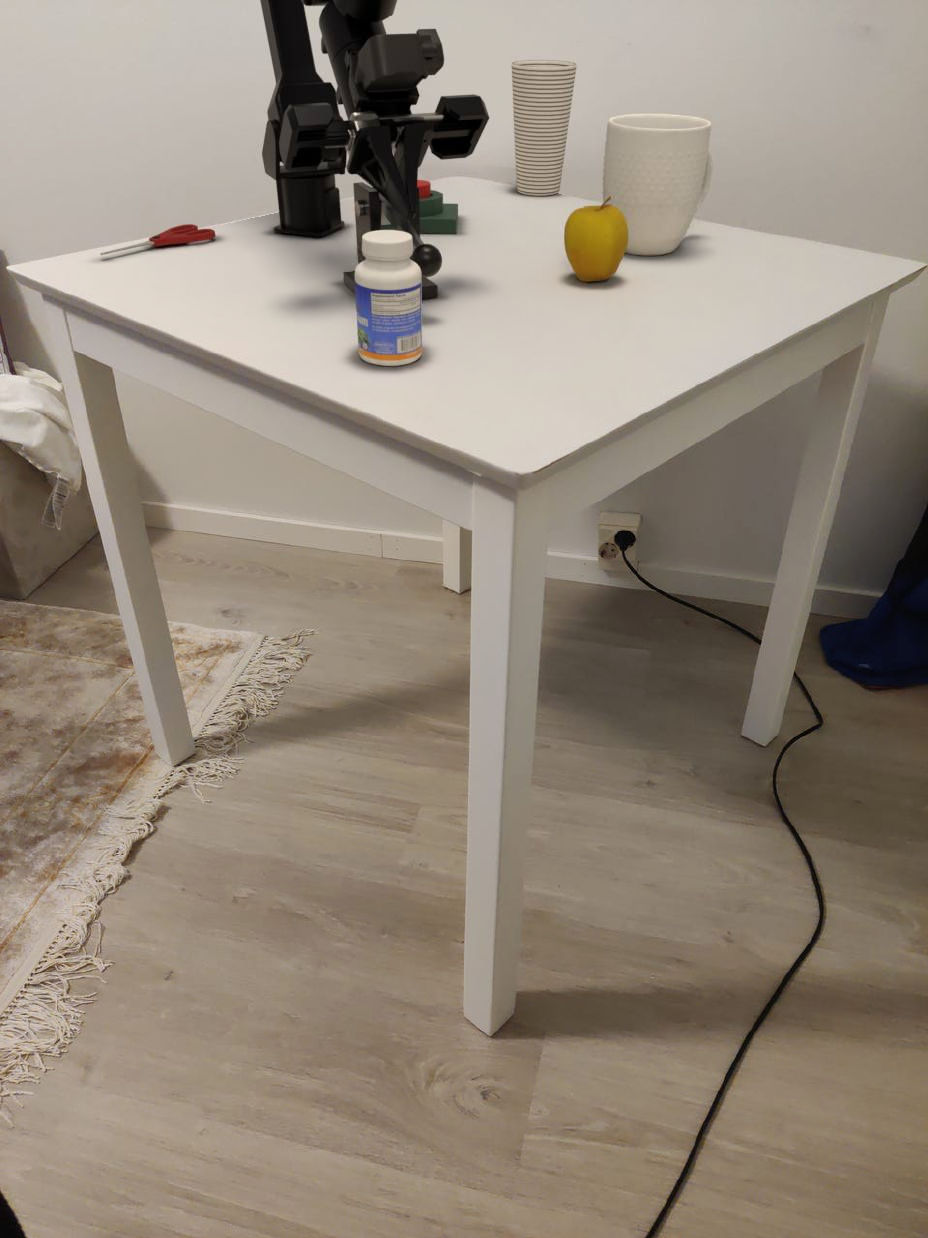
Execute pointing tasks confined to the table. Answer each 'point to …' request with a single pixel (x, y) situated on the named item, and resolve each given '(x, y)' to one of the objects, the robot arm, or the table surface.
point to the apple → (595, 241)
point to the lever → (422, 253)
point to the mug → (656, 176)
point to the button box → (435, 215)
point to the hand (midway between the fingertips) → (411, 216)
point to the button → (424, 188)
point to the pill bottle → (388, 299)
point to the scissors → (174, 237)
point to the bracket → (370, 221)
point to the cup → (541, 122)
